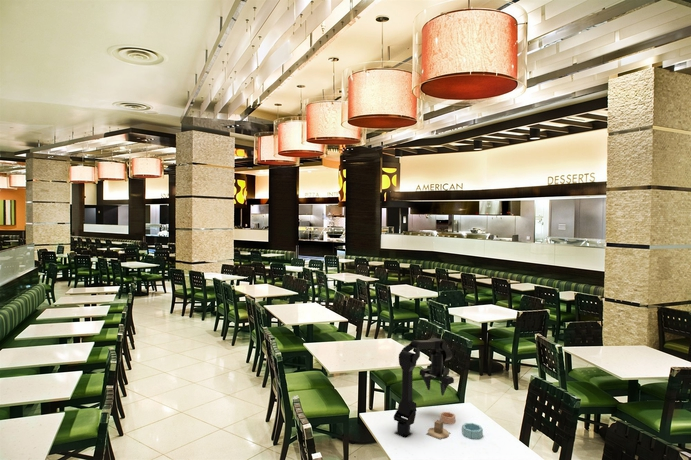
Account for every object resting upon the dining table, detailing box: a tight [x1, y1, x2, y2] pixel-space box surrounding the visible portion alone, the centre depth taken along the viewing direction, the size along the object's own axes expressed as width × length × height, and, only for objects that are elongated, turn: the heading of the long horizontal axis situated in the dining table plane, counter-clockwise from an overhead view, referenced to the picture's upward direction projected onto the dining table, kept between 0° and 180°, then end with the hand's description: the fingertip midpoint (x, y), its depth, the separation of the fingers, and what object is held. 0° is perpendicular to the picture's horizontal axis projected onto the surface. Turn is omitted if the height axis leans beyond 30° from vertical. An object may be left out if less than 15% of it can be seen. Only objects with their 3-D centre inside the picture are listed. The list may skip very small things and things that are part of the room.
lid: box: [427, 419, 450, 440], centre depth 222 cm, size 10×10×6 cm
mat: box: [425, 431, 452, 441], centre depth 223 cm, size 10×8×1 cm
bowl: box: [461, 422, 484, 440], centre depth 223 cm, size 9×9×4 cm
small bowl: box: [439, 411, 456, 425], centre depth 237 cm, size 7×7×4 cm
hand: (435, 392), depth 240 cm, fingers open, 9 cm apart
